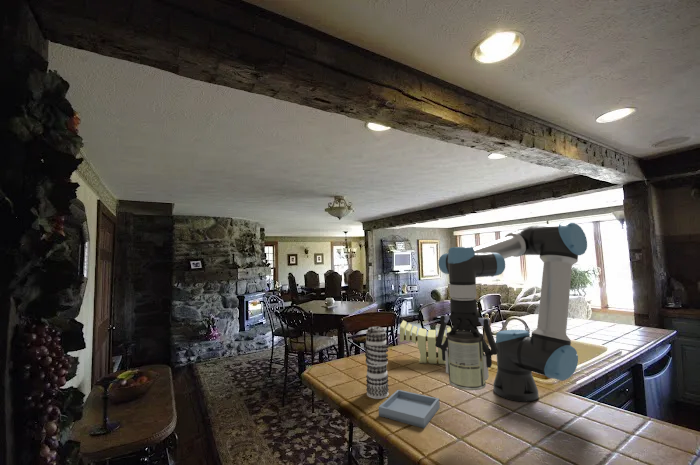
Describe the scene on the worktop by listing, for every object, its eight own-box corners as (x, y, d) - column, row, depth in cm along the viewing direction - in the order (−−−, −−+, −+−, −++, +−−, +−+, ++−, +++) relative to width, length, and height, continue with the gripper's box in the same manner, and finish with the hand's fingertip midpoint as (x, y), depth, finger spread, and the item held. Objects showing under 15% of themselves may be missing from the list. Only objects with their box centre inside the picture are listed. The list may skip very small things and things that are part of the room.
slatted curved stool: (400, 363, 158) (399, 326, 160) (404, 353, 174) (403, 320, 175) (465, 367, 150) (464, 328, 152) (463, 357, 166) (461, 321, 167)
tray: (439, 407, 113) (439, 398, 113) (424, 428, 100) (423, 418, 100) (398, 397, 121) (397, 389, 121) (378, 416, 108) (378, 406, 108)
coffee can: (443, 377, 100) (441, 330, 101) (476, 376, 100) (474, 329, 101) (456, 391, 90) (453, 339, 91) (492, 389, 90) (490, 338, 91)
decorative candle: (364, 398, 121) (362, 330, 122) (366, 388, 130) (365, 325, 132) (389, 399, 119) (387, 330, 121) (389, 389, 129) (387, 325, 130)
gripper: (506, 298, 94) (510, 377, 93) (430, 295, 106) (433, 365, 105) (503, 302, 88) (507, 387, 86) (422, 298, 100) (425, 372, 98)
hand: (466, 375), depth 95 cm, fingers closed on coffee can, 10 cm apart
